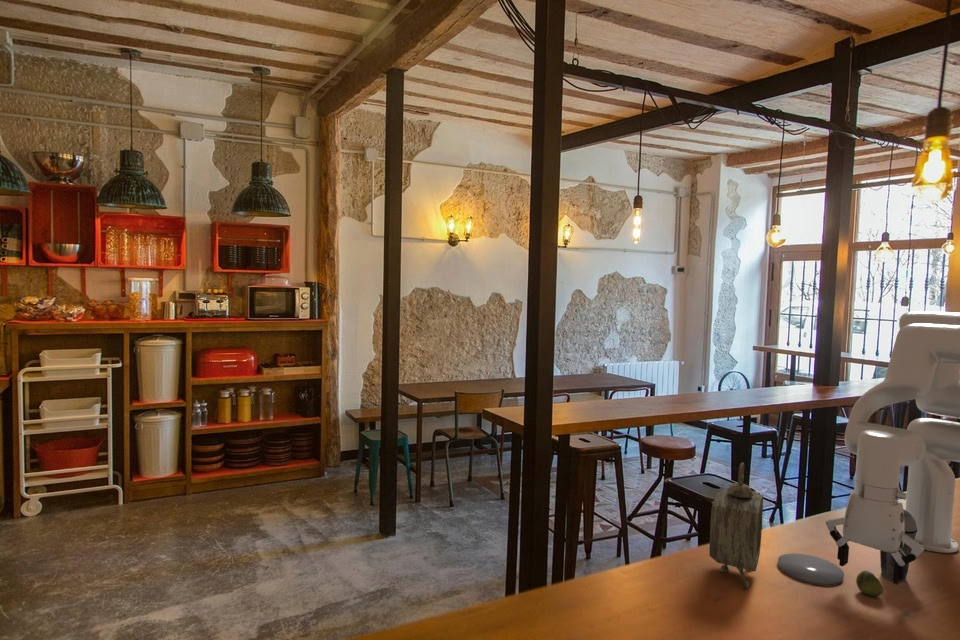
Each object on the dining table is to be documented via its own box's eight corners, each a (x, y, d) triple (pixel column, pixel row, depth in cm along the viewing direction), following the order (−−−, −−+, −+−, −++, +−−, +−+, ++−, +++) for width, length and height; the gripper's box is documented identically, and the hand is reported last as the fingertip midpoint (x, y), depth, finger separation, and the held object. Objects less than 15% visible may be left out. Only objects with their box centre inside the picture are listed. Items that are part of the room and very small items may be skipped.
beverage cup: (920, 587, 129) (927, 495, 127) (882, 582, 130) (889, 492, 129) (903, 571, 136) (910, 484, 134) (868, 567, 137) (874, 481, 136)
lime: (856, 587, 128) (858, 564, 128) (884, 594, 125) (885, 571, 125) (853, 595, 124) (855, 571, 124) (881, 603, 121) (883, 579, 121)
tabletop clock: (753, 594, 123) (759, 475, 122) (706, 583, 128) (712, 468, 126) (759, 566, 136) (765, 458, 134) (717, 557, 140) (722, 452, 139)
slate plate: (791, 552, 144) (791, 548, 144) (852, 573, 134) (852, 568, 134) (767, 568, 135) (768, 564, 135) (831, 591, 125) (831, 587, 125)
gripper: (931, 500, 119) (924, 584, 120) (835, 477, 132) (830, 553, 133) (922, 508, 114) (914, 595, 115) (823, 483, 127) (817, 562, 128)
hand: (869, 573), depth 124 cm, fingers open, 9 cm apart
